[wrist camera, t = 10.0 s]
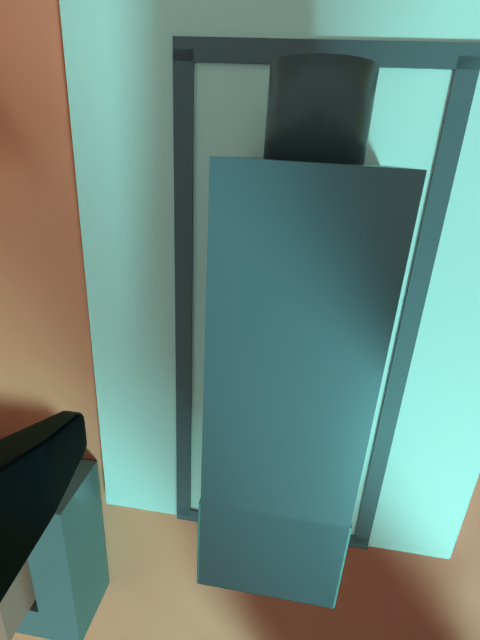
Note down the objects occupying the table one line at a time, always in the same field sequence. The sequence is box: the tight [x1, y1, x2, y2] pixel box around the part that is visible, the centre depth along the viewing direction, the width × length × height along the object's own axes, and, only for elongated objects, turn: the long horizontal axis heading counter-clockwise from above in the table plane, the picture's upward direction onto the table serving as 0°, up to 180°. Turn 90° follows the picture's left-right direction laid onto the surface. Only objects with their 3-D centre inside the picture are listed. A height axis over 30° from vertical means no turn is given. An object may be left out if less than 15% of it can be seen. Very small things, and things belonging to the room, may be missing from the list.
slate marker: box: [197, 53, 427, 609], centre depth 12 cm, size 14×4×5 cm, turn 177°
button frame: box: [16, 459, 109, 640], centre depth 19 cm, size 8×8×3 cm
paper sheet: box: [59, 0, 480, 559], centre depth 14 cm, size 20×15×1 cm
